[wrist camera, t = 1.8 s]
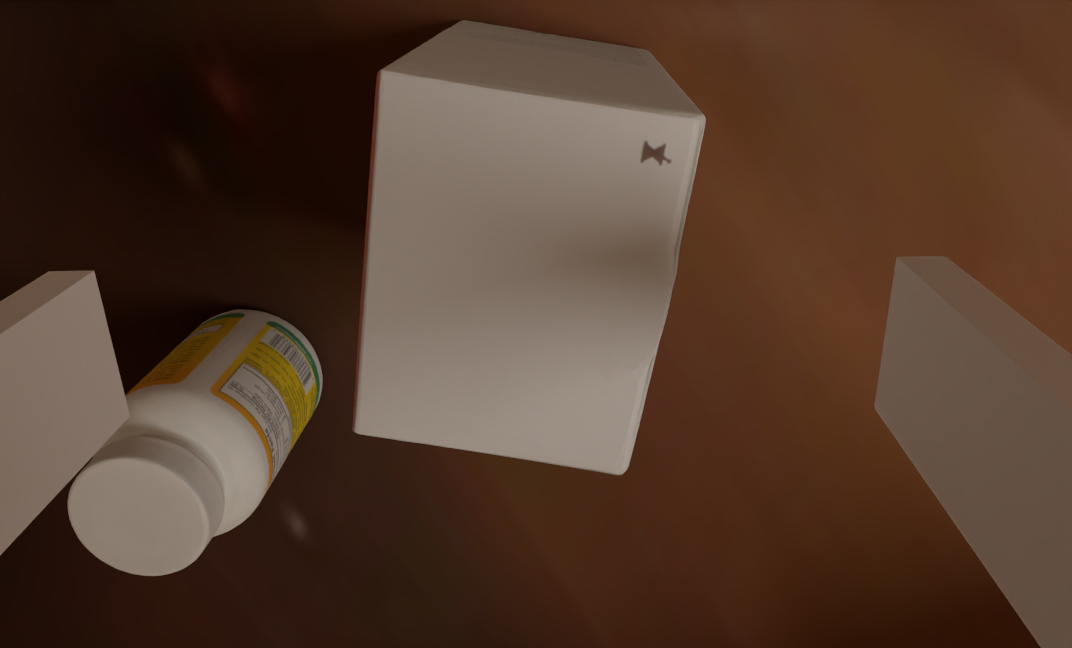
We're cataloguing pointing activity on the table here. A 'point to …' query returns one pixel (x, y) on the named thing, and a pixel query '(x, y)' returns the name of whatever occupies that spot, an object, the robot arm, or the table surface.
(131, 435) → the supplement bottle
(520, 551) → the table surface
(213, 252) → the table surface
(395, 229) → the small box
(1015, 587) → the robot arm
